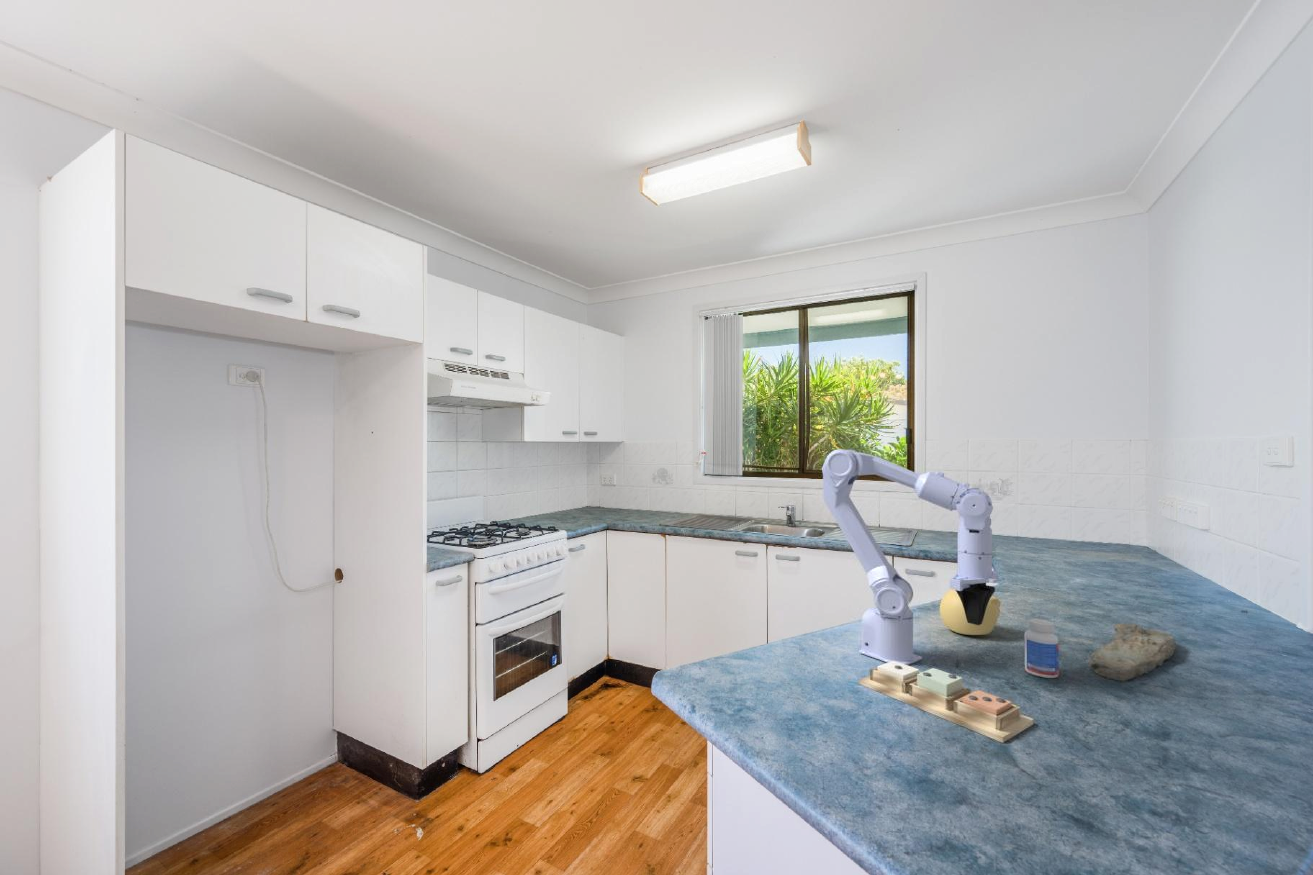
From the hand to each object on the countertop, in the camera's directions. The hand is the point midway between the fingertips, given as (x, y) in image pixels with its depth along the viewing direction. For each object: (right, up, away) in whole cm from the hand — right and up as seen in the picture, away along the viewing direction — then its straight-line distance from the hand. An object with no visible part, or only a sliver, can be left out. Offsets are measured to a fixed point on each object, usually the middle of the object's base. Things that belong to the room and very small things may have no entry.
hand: (974, 623), depth 105 cm
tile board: (-13, -9, -13) cm, 21 cm away
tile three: (-9, -8, -19) cm, 23 cm away
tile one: (-17, -8, -7) cm, 20 cm away
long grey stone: (+38, -11, +8) cm, 40 cm away
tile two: (-13, -7, -13) cm, 20 cm away
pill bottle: (+13, -10, 0) cm, 16 cm away
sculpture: (+12, -10, +24) cm, 29 cm away
